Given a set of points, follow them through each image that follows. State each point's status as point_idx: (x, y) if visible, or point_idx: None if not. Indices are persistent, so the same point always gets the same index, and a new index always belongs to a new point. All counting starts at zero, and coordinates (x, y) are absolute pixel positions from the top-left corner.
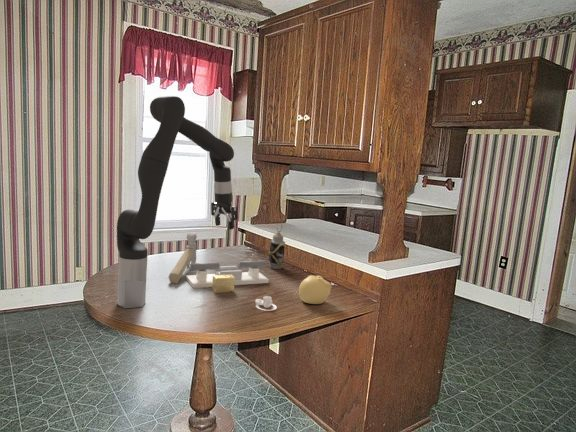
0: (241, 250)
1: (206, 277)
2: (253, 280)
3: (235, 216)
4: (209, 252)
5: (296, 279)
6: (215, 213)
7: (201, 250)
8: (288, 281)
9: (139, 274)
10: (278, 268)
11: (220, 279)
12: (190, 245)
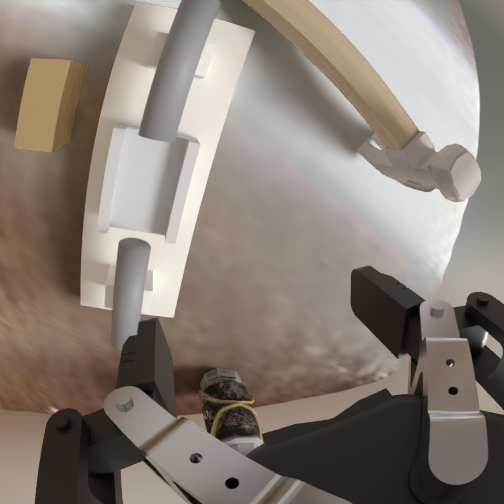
0: (381, 355)
1: (148, 66)
2: (82, 252)
3: (105, 484)
4: (423, 276)
5: (98, 375)
6: (454, 336)
7: (443, 265)
8: (84, 351)
9: None
10: (201, 381)
11: (28, 79)
12: (425, 156)
